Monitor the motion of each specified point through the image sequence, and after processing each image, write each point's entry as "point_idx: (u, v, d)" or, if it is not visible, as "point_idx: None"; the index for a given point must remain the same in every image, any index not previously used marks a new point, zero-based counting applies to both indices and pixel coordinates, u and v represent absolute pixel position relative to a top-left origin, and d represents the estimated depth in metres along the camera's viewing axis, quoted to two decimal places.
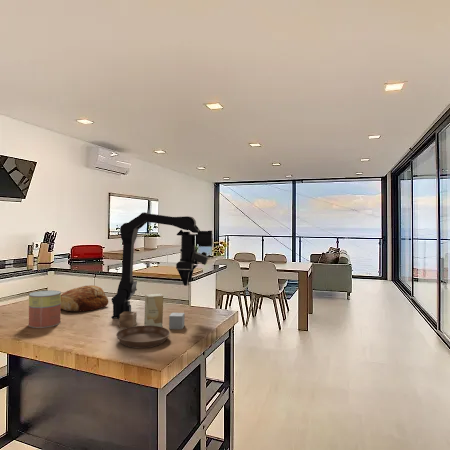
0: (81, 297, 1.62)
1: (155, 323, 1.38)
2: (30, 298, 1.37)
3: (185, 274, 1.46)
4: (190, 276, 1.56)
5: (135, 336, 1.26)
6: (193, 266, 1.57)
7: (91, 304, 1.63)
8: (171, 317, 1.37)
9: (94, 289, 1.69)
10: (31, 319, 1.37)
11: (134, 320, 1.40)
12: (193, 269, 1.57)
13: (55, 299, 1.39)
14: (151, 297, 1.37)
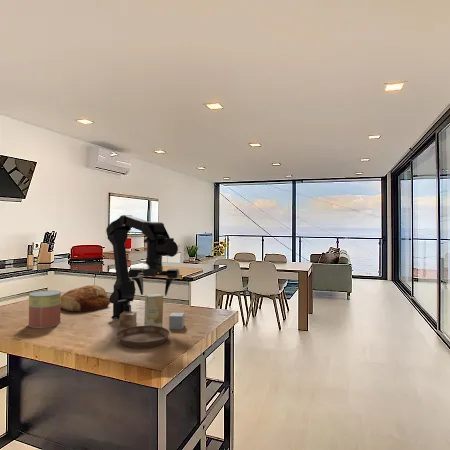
0: (83, 297, 1.62)
1: (155, 323, 1.38)
2: (30, 298, 1.37)
3: None
4: None
5: (135, 336, 1.26)
6: (166, 279, 1.38)
7: (93, 304, 1.63)
8: (171, 317, 1.37)
9: (96, 289, 1.69)
10: (31, 319, 1.37)
11: (134, 320, 1.40)
12: (166, 282, 1.38)
13: (55, 299, 1.39)
14: (151, 297, 1.37)
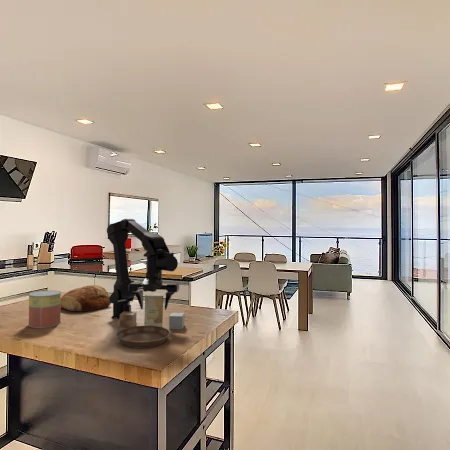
0: (84, 297, 1.62)
1: (155, 323, 1.38)
2: (30, 298, 1.37)
3: None
4: None
5: (135, 336, 1.26)
6: (166, 293, 1.38)
7: (94, 304, 1.63)
8: (171, 317, 1.37)
9: (97, 289, 1.69)
10: (31, 319, 1.37)
11: (134, 320, 1.40)
12: (166, 296, 1.38)
13: (55, 299, 1.39)
14: (151, 297, 1.37)
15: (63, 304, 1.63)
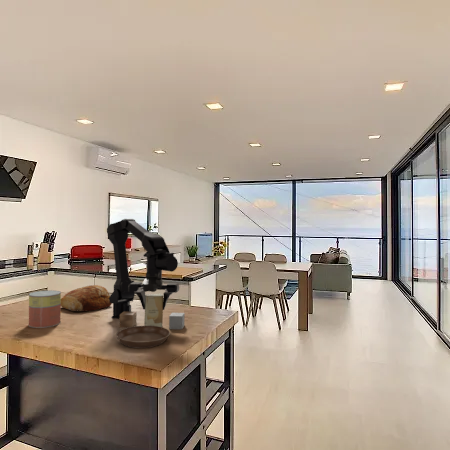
0: (85, 297, 1.63)
1: (155, 323, 1.38)
2: (30, 298, 1.37)
3: None
4: None
5: (135, 336, 1.26)
6: (164, 293, 1.38)
7: (95, 304, 1.63)
8: (171, 317, 1.37)
9: (98, 289, 1.70)
10: (31, 319, 1.37)
11: (134, 320, 1.40)
12: (164, 296, 1.38)
13: (55, 299, 1.39)
14: (151, 297, 1.37)
15: (64, 304, 1.63)
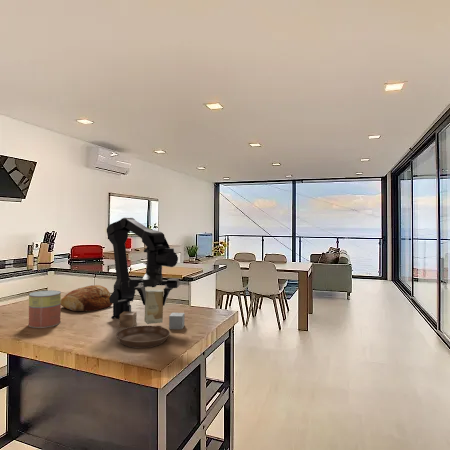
0: (86, 296, 1.63)
1: (155, 318, 1.38)
2: (30, 298, 1.37)
3: None
4: None
5: (135, 336, 1.26)
6: (164, 289, 1.38)
7: (96, 304, 1.63)
8: (171, 317, 1.37)
9: (99, 289, 1.70)
10: (31, 319, 1.37)
11: (134, 320, 1.40)
12: (164, 292, 1.38)
13: (55, 299, 1.39)
14: (151, 293, 1.37)
15: (65, 304, 1.63)
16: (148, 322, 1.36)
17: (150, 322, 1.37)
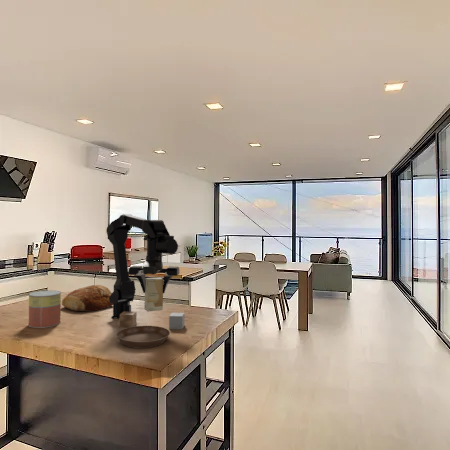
0: (88, 296, 1.63)
1: (155, 306, 1.38)
2: (30, 298, 1.37)
3: None
4: None
5: (135, 336, 1.26)
6: (164, 276, 1.38)
7: (97, 303, 1.64)
8: (171, 317, 1.37)
9: (100, 289, 1.70)
10: (31, 319, 1.37)
11: (134, 320, 1.40)
12: (164, 280, 1.38)
13: (55, 299, 1.39)
14: (151, 280, 1.37)
15: (67, 304, 1.63)
16: (148, 309, 1.36)
17: (150, 309, 1.37)
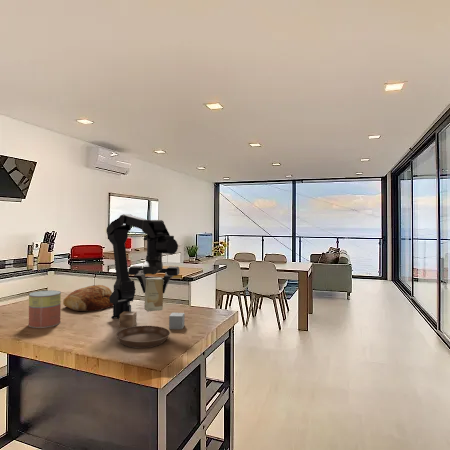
0: (89, 296, 1.63)
1: (155, 306, 1.38)
2: (30, 298, 1.37)
3: None
4: None
5: (135, 336, 1.26)
6: (164, 276, 1.38)
7: (99, 303, 1.64)
8: (171, 317, 1.37)
9: (102, 289, 1.70)
10: (31, 319, 1.37)
11: (134, 320, 1.40)
12: (164, 280, 1.38)
13: (55, 299, 1.39)
14: (151, 280, 1.37)
15: (68, 304, 1.63)
16: (148, 309, 1.36)
17: (150, 309, 1.37)
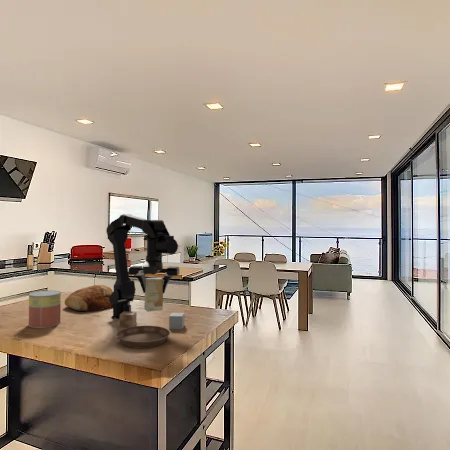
0: (90, 296, 1.63)
1: (155, 306, 1.38)
2: (30, 298, 1.37)
3: None
4: None
5: (135, 336, 1.26)
6: (164, 276, 1.38)
7: (100, 303, 1.64)
8: (171, 317, 1.37)
9: (103, 289, 1.70)
10: (31, 319, 1.37)
11: (134, 320, 1.40)
12: (164, 280, 1.38)
13: (55, 299, 1.39)
14: (151, 280, 1.37)
15: (69, 304, 1.64)
16: (148, 309, 1.36)
17: (150, 309, 1.37)
